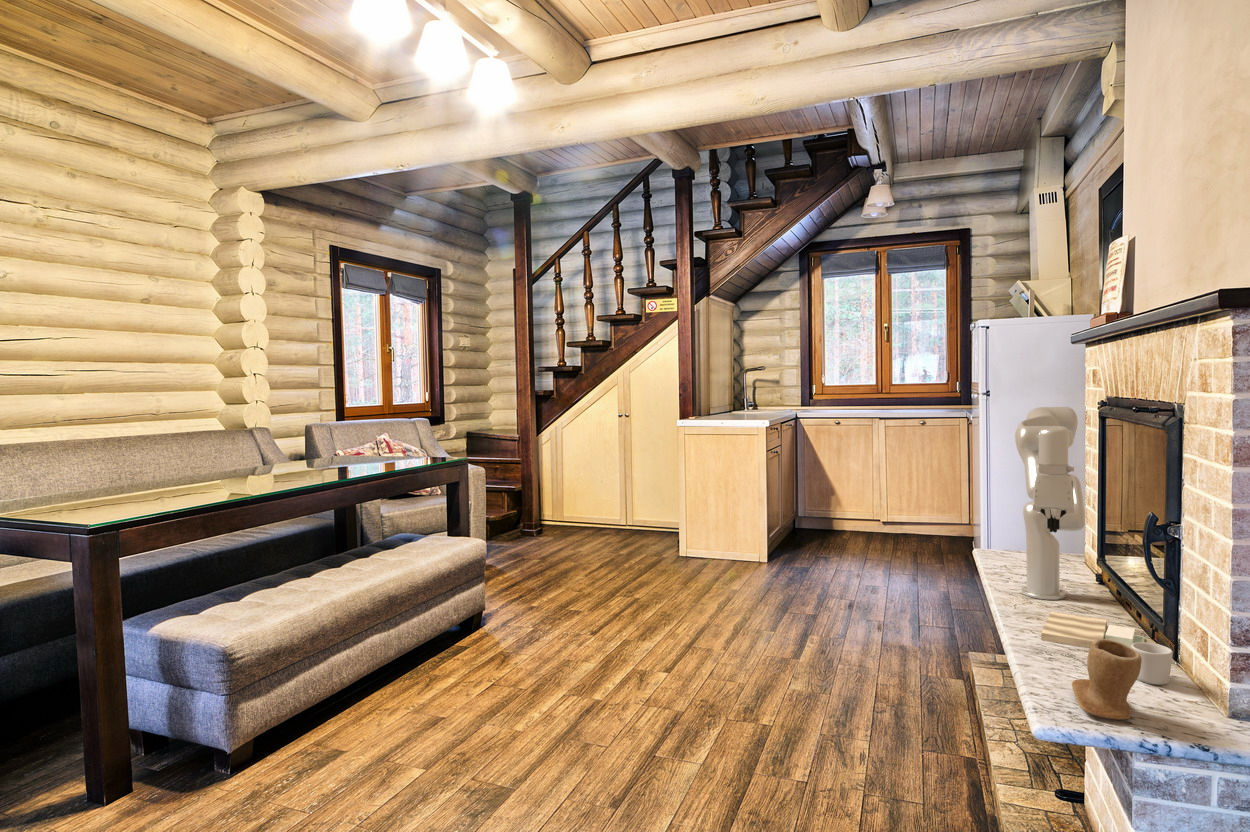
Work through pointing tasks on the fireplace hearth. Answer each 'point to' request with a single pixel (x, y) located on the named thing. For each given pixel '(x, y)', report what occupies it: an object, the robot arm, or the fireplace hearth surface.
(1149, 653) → the cup
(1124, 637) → the cream rectangular block
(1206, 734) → the fireplace hearth surface
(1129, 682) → the brown hollow flared vessel
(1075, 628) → the wavy wooden board
